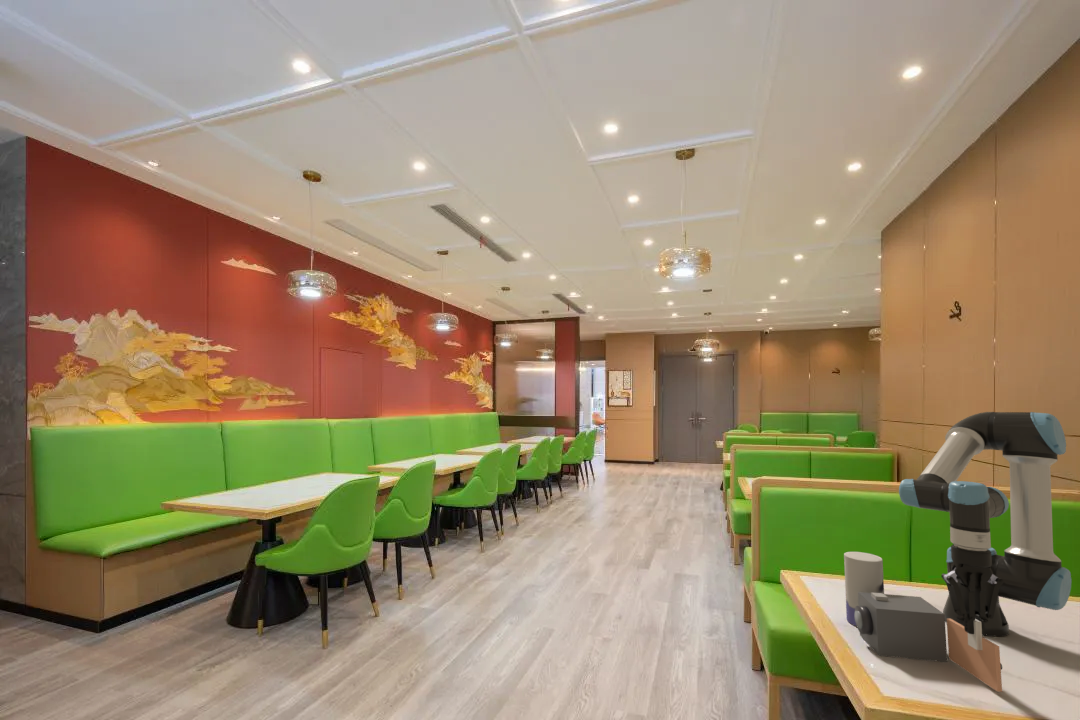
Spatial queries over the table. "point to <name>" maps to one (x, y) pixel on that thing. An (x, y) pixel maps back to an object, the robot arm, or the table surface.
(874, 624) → the dark gray knobbed box
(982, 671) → the side door
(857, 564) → the container
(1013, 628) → the table surface
